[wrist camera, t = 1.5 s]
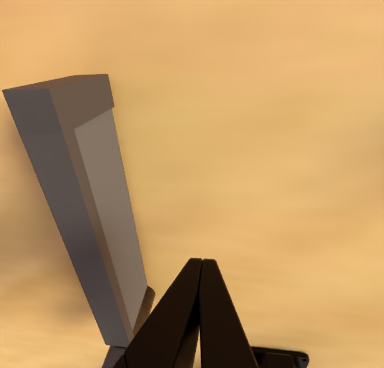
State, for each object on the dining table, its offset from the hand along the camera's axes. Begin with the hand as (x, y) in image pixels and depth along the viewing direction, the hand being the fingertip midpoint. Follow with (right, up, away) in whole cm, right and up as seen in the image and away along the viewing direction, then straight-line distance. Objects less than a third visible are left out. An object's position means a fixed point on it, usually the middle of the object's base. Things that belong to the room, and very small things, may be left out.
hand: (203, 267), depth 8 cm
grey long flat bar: (-6, +1, +10) cm, 12 cm away
